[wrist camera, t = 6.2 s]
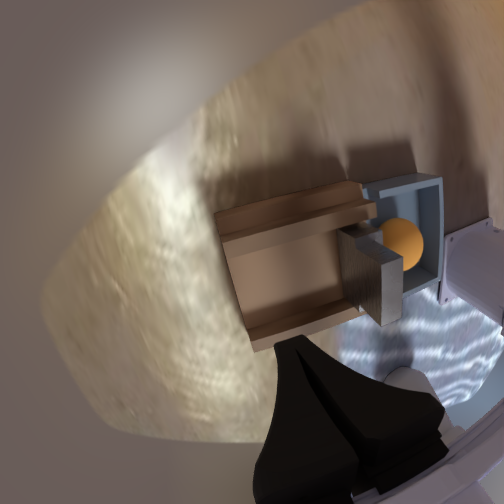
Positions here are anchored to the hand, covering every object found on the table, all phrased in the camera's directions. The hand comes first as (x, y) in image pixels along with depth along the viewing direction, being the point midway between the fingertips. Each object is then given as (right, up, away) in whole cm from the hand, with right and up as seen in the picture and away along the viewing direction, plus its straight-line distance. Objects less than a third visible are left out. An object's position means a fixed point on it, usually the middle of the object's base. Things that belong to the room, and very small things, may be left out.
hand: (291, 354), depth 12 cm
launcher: (+2, +4, +9) cm, 10 cm away
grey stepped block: (+5, +4, +7) cm, 10 cm away
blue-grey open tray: (+10, +6, +10) cm, 15 cm away
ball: (+9, +5, +7) cm, 13 cm away
